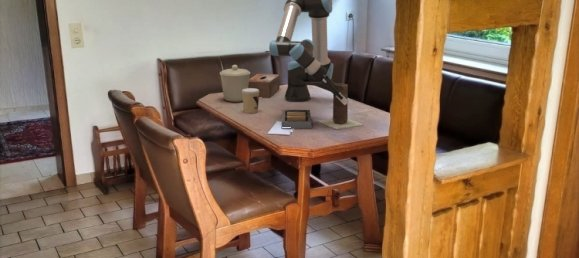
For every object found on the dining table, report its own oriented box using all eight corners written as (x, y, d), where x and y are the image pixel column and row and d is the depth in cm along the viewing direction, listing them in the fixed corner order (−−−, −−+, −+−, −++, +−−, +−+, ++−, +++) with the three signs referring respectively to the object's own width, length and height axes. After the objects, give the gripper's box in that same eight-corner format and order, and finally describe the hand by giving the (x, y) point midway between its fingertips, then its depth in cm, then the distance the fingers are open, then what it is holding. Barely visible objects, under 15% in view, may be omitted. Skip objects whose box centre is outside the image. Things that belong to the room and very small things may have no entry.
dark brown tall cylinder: (331, 120, 285) (332, 81, 280) (345, 120, 286) (346, 81, 280) (334, 124, 278) (334, 85, 272) (348, 124, 278) (349, 84, 273)
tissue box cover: (269, 98, 337) (269, 82, 334) (246, 97, 340) (245, 81, 337) (279, 90, 361) (279, 74, 358) (258, 88, 364) (257, 73, 361)
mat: (344, 118, 292) (344, 117, 292) (362, 125, 279) (362, 124, 279) (318, 122, 284) (318, 121, 284) (336, 129, 271) (336, 128, 271)
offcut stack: (287, 124, 281) (287, 111, 279) (305, 124, 281) (305, 112, 279) (287, 126, 277) (287, 114, 275) (305, 126, 277) (305, 114, 275)
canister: (239, 95, 344) (238, 61, 339) (257, 100, 331) (256, 65, 325) (214, 99, 333) (213, 64, 327) (232, 105, 320) (231, 68, 314)
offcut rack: (282, 116, 296) (282, 109, 295) (309, 116, 296) (310, 109, 295) (281, 128, 273) (281, 121, 272) (311, 128, 273) (311, 121, 272)
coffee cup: (257, 114, 301) (256, 92, 297) (240, 113, 302) (239, 91, 299) (261, 109, 309) (261, 88, 306) (245, 109, 311) (244, 87, 308)
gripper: (309, 71, 287) (338, 99, 291) (310, 80, 263) (342, 111, 267) (320, 60, 285) (348, 89, 289) (322, 69, 261) (353, 100, 265)
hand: (345, 100), depth 278 cm, fingers open, 13 cm apart
